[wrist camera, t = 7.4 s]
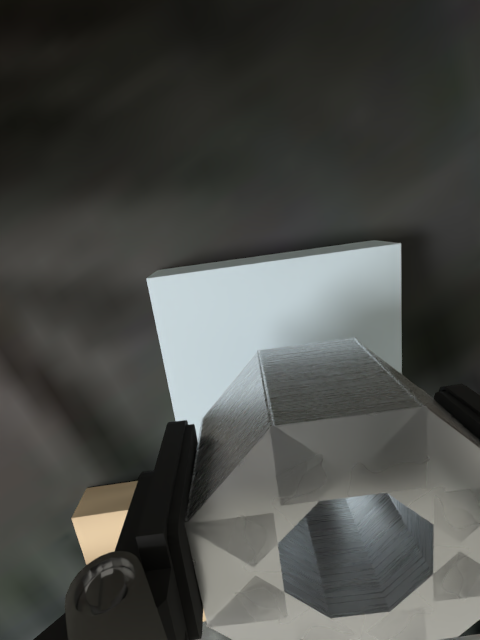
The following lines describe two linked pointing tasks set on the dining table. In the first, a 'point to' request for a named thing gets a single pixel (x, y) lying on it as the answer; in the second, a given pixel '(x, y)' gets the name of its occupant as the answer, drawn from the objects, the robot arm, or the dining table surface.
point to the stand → (102, 518)
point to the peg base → (271, 313)
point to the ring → (334, 503)
